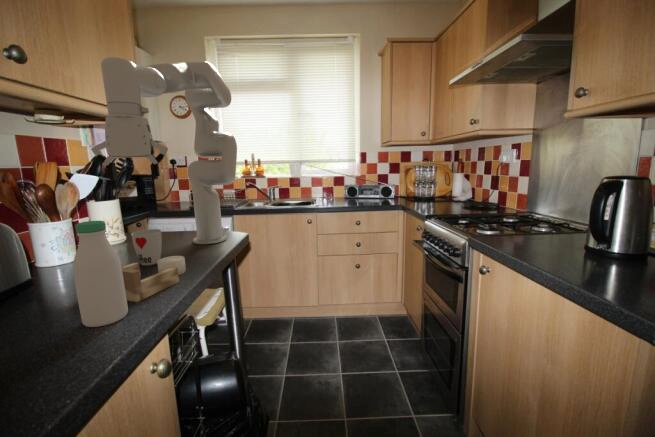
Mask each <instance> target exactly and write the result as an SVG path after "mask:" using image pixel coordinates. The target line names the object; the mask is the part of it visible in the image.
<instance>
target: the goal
mask: <svg viewBox="0 0 655 437" xmlns="http://www.w3.org/2000/svg"><path fill="white" fill-rule="evenodd" d="M121 268H122V274H123V280H124V286H125V292H126V299H127V302H128V301H129V302H135V303H139V302H141V301H143V300H145V299H148V297H151V296H153V295H155V294H157V293H159V292H162V291H164V290H166V289H167V288H169V287H172V286H174V285H176V284H178V283H180V279H179V275H178V268H177V267H172V268H169V269H167V270H164V271H162V272H160V273H159V272H158V273H155V274H153V275H150V276H148V277H146V278H143V279H141V277H142V276H141V275H142V274H141V267H140V262H133V263H130V264H127V265H123V266H121Z"/></svg>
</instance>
